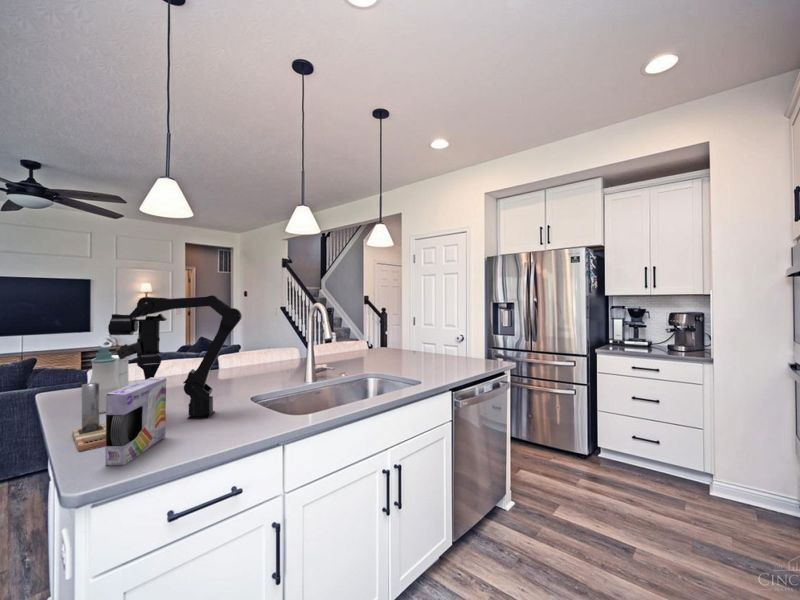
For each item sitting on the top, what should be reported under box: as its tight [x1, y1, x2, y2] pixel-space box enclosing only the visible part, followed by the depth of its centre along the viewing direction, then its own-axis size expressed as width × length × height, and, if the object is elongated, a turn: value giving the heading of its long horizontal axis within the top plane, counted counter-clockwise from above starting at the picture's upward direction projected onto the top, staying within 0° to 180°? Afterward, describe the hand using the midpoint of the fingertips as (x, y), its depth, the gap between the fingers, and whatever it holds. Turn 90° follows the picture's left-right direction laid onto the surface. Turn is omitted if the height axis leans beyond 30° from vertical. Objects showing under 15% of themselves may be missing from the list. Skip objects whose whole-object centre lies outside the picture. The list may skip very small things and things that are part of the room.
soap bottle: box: [88, 346, 120, 414], centre depth 133 cm, size 10×10×23 cm
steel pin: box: [81, 382, 100, 434], centre depth 108 cm, size 4×4×15 cm
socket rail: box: [72, 423, 106, 452], centre depth 104 cm, size 18×8×2 cm, turn 46°
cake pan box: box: [104, 376, 167, 466], centre depth 95 cm, size 19×5×18 cm, turn 4°
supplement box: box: [91, 354, 129, 389], centre depth 152 cm, size 10×9×17 cm
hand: (148, 382), depth 119 cm, fingers open, 9 cm apart
